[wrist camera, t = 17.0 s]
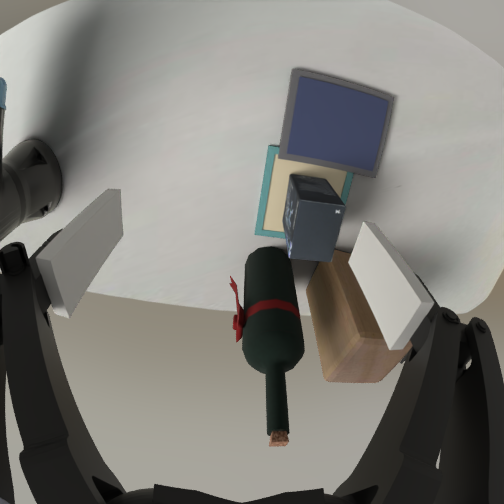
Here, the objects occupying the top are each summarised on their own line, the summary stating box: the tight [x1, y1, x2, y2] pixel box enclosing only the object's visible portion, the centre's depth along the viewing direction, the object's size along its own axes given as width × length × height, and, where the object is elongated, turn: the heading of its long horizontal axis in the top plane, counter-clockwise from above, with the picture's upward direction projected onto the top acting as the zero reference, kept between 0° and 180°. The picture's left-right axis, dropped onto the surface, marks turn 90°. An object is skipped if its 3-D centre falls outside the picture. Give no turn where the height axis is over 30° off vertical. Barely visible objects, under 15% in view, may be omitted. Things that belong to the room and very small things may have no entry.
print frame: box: [255, 146, 354, 238], centre depth 40 cm, size 13×14×1 cm
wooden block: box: [306, 249, 413, 383], centre depth 39 cm, size 10×10×20 cm
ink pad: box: [278, 69, 394, 178], centre depth 33 cm, size 15×13×1 cm
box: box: [282, 174, 346, 262], centre depth 36 cm, size 8×6×11 cm
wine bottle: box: [229, 246, 305, 446], centre depth 34 cm, size 8×10×30 cm
